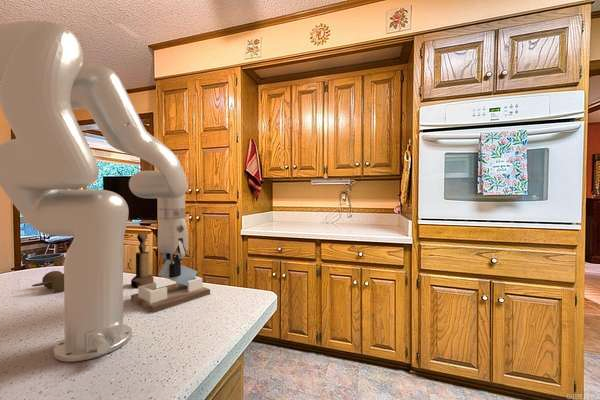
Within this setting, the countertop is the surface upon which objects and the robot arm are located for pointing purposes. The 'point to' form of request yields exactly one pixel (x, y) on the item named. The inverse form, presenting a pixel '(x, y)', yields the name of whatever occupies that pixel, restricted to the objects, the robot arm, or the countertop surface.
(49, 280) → the kendama
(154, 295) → the end caps
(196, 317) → the countertop surface
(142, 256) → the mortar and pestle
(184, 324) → the countertop surface
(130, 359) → the countertop surface
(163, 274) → the light blue rectangular block
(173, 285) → the board
